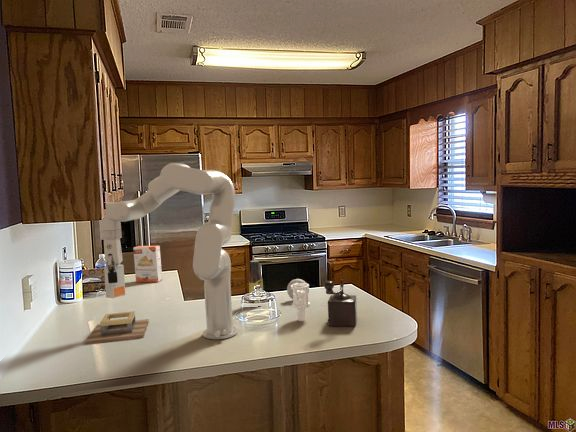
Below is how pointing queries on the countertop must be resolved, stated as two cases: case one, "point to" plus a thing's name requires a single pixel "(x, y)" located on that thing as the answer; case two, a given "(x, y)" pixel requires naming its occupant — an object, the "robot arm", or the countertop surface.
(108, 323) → the frame
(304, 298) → the clear stepped glass cylinder
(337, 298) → the manual coffee grinder
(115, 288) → the skincare box
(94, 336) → the walnut board
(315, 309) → the countertop surface
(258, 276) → the sauce bottle
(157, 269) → the cracker box
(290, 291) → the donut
